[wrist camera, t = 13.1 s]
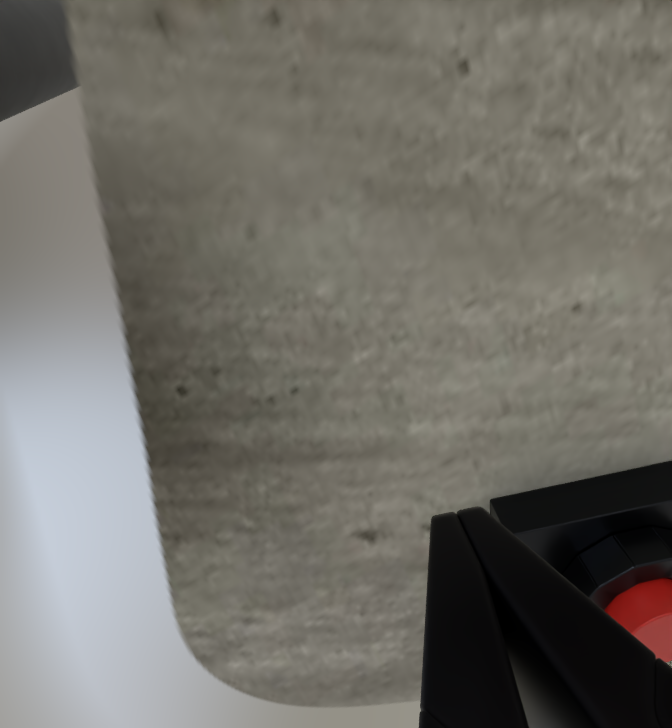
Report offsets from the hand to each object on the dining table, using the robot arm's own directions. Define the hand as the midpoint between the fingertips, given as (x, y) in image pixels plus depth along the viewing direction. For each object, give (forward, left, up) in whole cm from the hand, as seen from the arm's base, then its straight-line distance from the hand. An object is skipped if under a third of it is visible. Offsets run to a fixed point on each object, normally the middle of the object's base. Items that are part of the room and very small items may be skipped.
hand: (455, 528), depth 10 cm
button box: (+10, -17, -12) cm, 23 cm away
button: (+10, -17, -8) cm, 21 cm away
